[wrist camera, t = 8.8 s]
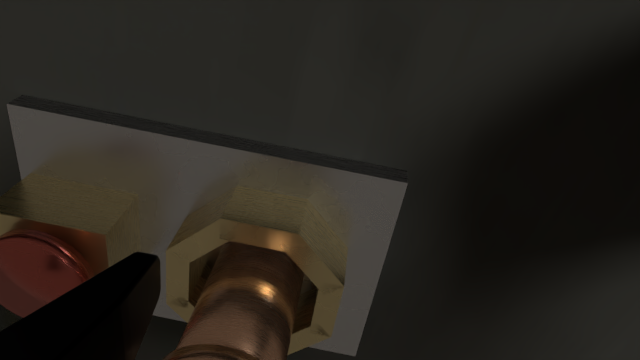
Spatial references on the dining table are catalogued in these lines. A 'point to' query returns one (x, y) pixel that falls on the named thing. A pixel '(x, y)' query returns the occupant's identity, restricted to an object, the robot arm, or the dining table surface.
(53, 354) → the robot arm
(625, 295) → the dining table surface
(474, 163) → the dining table surface
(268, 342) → the pipe stub
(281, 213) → the panel with octagonal sockets
